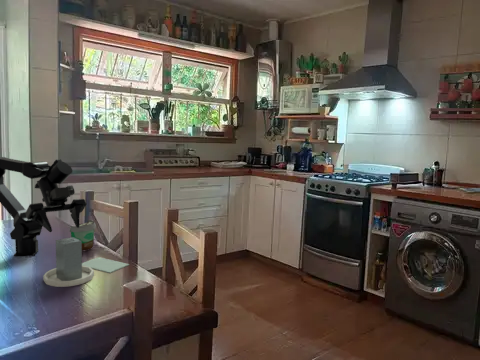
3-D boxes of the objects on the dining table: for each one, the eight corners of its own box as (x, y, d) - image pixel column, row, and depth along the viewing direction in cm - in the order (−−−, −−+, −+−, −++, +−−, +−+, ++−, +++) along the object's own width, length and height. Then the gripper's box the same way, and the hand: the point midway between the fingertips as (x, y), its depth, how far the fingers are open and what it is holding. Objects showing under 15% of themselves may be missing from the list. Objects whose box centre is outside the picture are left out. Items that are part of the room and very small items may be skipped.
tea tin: (64, 282, 118) (63, 244, 117) (56, 277, 122) (55, 240, 120) (81, 277, 122) (81, 240, 121) (73, 273, 126) (73, 237, 124)
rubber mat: (79, 266, 133) (79, 264, 133) (98, 259, 141) (98, 257, 141) (110, 274, 127) (110, 272, 127) (129, 266, 135) (129, 264, 135)
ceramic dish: (37, 288, 114) (37, 282, 114) (52, 271, 128) (52, 265, 128) (87, 287, 116) (87, 281, 116) (97, 270, 130) (97, 264, 130)
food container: (84, 253, 147) (84, 227, 145) (70, 252, 148) (69, 226, 146) (102, 244, 159) (102, 220, 157) (88, 243, 160) (88, 219, 158)
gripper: (28, 179, 125) (43, 220, 119) (84, 176, 139) (100, 212, 133) (19, 199, 131) (33, 238, 125) (73, 194, 145) (88, 229, 139)
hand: (65, 229), depth 130 cm, fingers open, 9 cm apart
